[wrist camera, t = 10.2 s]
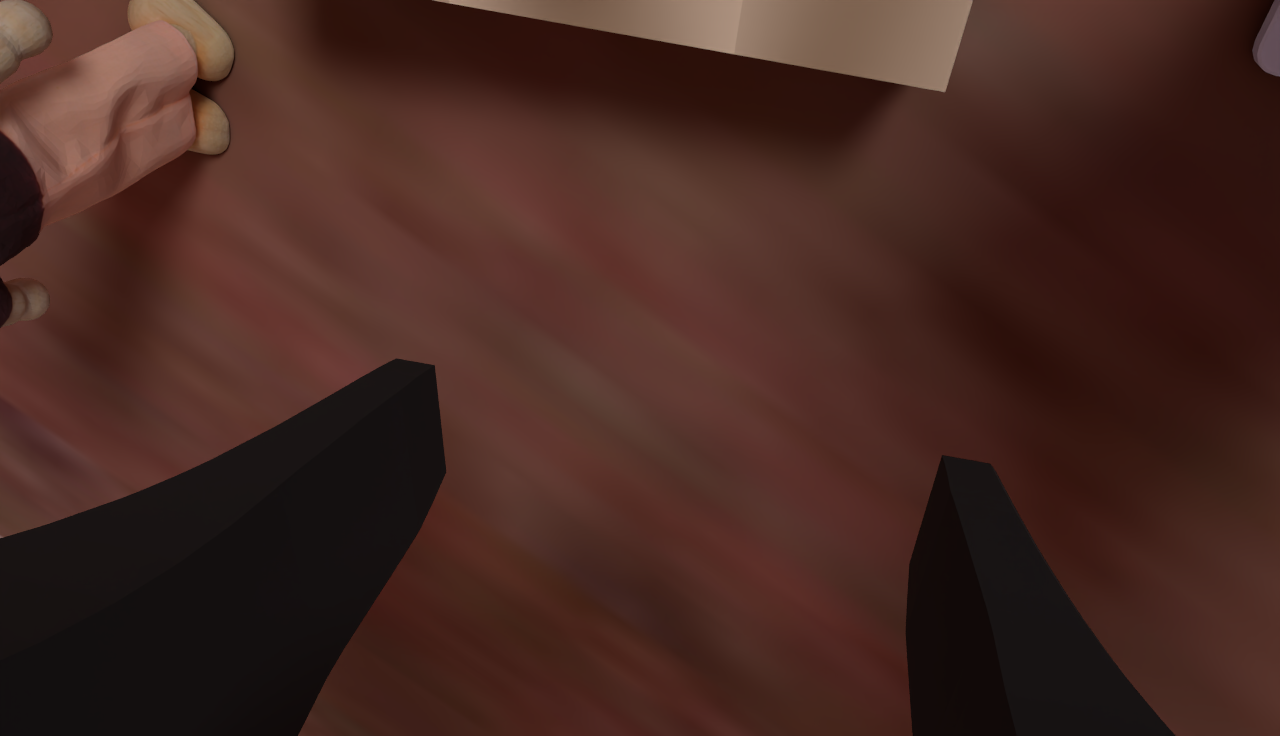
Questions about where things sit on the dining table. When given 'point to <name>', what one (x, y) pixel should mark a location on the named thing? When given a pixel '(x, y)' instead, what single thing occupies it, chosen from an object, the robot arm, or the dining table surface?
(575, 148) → the dining table surface
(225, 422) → the dining table surface
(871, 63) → the maple hole block
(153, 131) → the grandmother figurine
